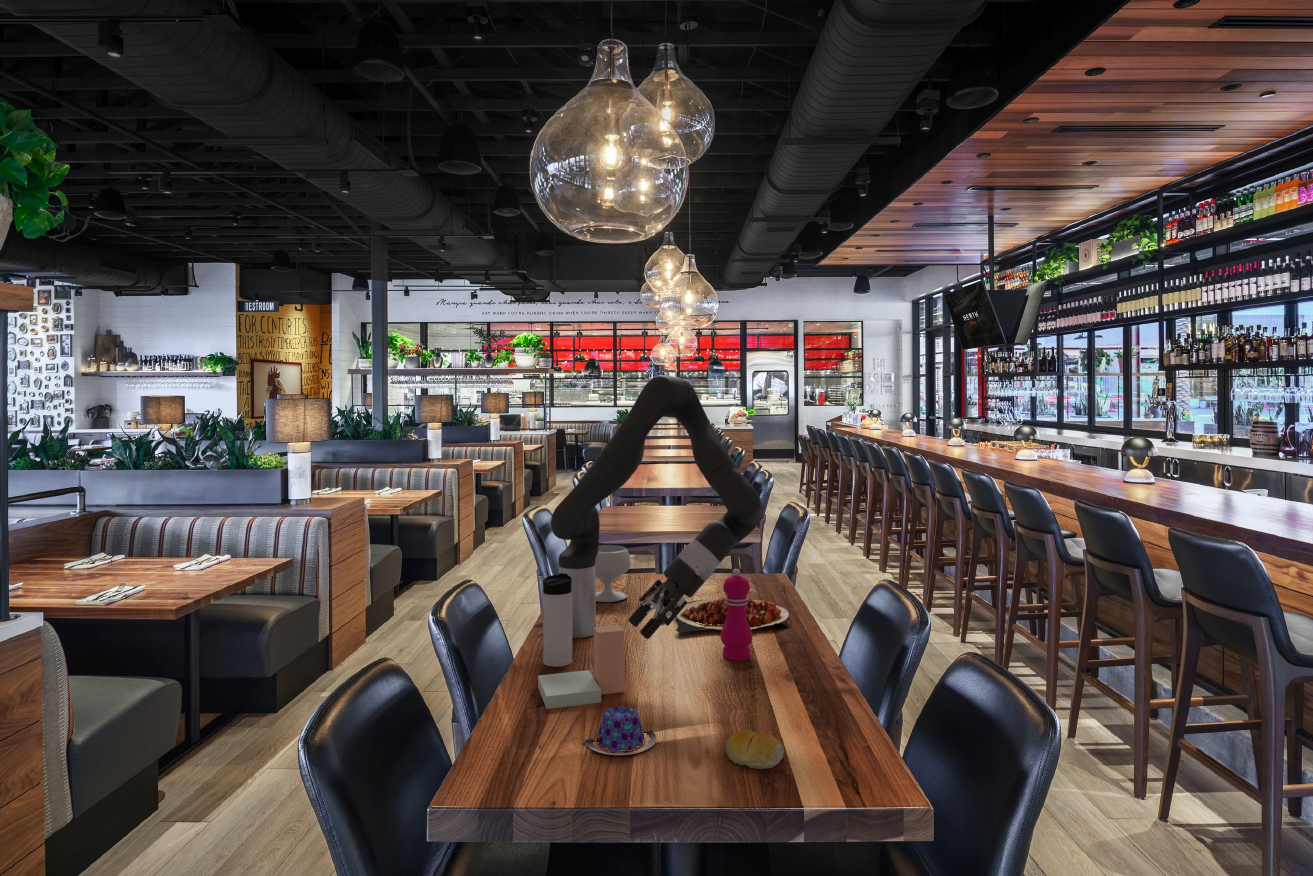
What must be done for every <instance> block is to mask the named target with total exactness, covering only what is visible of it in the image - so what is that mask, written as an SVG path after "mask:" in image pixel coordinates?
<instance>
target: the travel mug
mask: <svg viewBox="0 0 1313 876" xmlns="http://www.w3.org/2000/svg"><path fill="white" fill-rule="evenodd" d="M571 587H572V578H571V577H570V576H568V574H566V573H560V574H559V573H558V574H553V575H548V576H546V577H544V578H543V579H542V638H543V639H542V643H543V646H542V649H543V650H542V651H543V654H542V656H543V657H542V659H543V665H545V666H549V667H564V666H565V667H566V666H569V665H570V664H572V662H573V638H572V588H571Z"/></svg>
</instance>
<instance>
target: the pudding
mask: <svg viewBox="0 0 1313 876" xmlns="http://www.w3.org/2000/svg"><path fill="white" fill-rule="evenodd" d="M642 727H643V726H642V722H641V720H640V715H639V713H638V711H637V710H636V709H634V708H632V707H629V706H621V705H619V706H616V707H610V708H608V709H606V710H605V711H604V712H603V714H602V717H601V721H600V725H599V729H598V735H600V737H597V740H596V743H597V742H599V743H598V745H599V746H600V747H602V748H608V749H609V750H611V751H615V753H618V752H617V751H619V750H626V751H627V750H631V749H634V748H635V747H637V746H642V745H643V743H644V741H645V740H644V734H643V733H647V735H649V737H650V739H651V740H649V741H648V742H649V743H648V745H647V746H646V748H644V749H643V750H641V751H637V752H634V753H627V754H615V753H607V752H603V751H599V750H597V749H596V748H594V747H595V746H594V745H593V742H595V740H593V739H594V738H591V739H588V738H587V739H584V743H585V744H586V746H587V747H588V748H589V749H590V750H593V751H595V752H597V753H601V754H604V755H611V756H612V755H613V756H627V755H633V754H639V753H642V752H645V751H646V750H649V749H650V748H652V747H653V746H654V745H655V743H656V742H657V735H656V733H655V732H654V731H653V730H648V731H643V728H642ZM643 740H644V741H643ZM599 746H598V747H599ZM600 747H599V748H600ZM635 749H636V748H635ZM635 749H634V750H635Z"/></svg>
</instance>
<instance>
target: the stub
mask: <svg viewBox="0 0 1313 876" xmlns="http://www.w3.org/2000/svg"><path fill="white" fill-rule="evenodd" d="M624 631H625V630H624V628H622V627H621V626H620V624H614V625H611V624H610V625H603V626H602V625H601V626H596V627H594V635H593V677H594V679H595V681H596V682H597V684H598V686H599V687H600V689H601V696H603V695H610V694H611V695H612V694H617V693H619V694H620V693H624V692H625V638H624V637H625V635H624V634H625V632H624Z"/></svg>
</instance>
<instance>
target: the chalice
mask: <svg viewBox="0 0 1313 876" xmlns="http://www.w3.org/2000/svg"><path fill="white" fill-rule="evenodd" d="M631 562H632V561H631V557H630V553H629V551H628V549H627V547H625V546H622V545H616V544H614V545H613V544H607V545H606V544H603V545H602V544H601V545H599V549H598V554H597V556H596V560H595V577H596V578H597V579H598V580H600V581H601V582H602V584H603V586H604V587H603V590H602V591H597V592H596V602H598V603H614V602H616V603H617V602H620V600H621V601H624V600H626V599H628V597H627V596H628V595H627V594H626V593H624V592H619V591H613V590H612V589H611V587H612V583H613V582H614V580H616V579H618V578H619V577H620V576H623V575H624V574H626V573H627V572H628V570H629V569H630V568H631Z"/></svg>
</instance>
